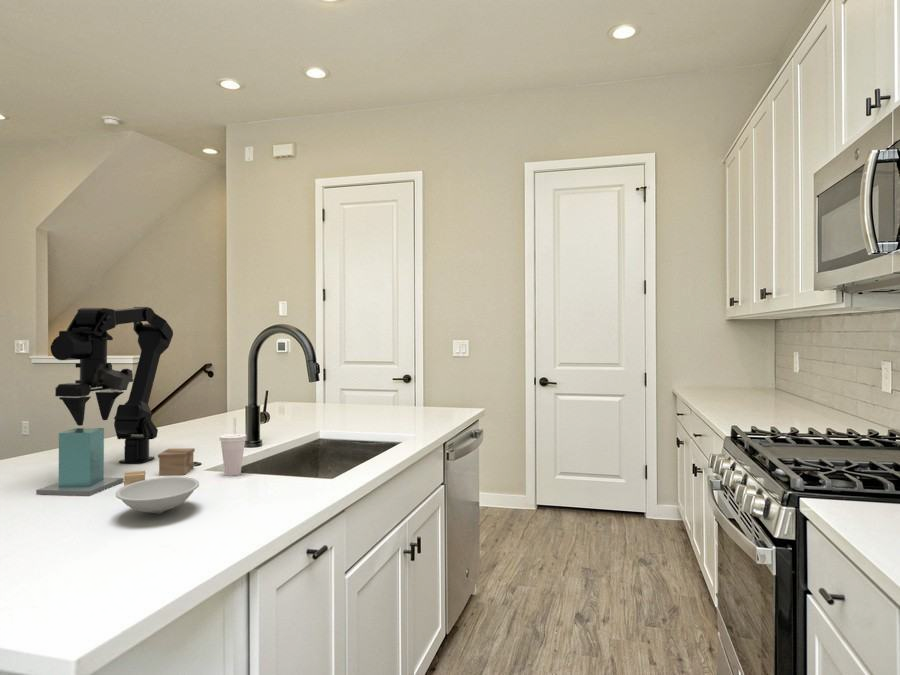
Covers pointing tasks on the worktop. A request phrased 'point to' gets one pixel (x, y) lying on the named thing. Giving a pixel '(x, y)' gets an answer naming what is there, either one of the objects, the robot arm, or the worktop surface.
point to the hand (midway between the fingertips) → (93, 422)
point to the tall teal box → (81, 457)
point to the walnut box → (176, 461)
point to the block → (133, 477)
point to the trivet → (80, 488)
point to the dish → (157, 493)
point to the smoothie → (233, 451)
